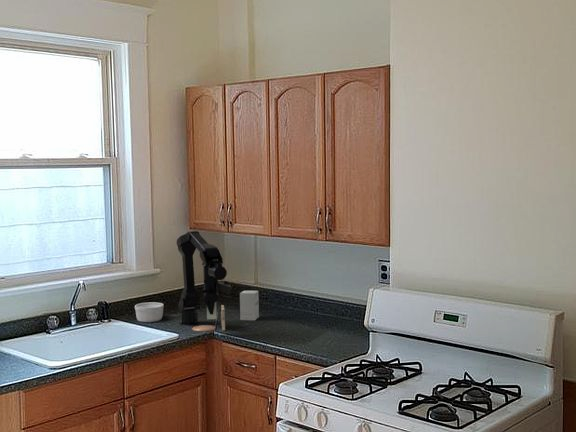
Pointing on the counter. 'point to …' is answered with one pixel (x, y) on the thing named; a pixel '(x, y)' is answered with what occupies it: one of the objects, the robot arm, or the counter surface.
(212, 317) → the sage block
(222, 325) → the divider board
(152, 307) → the ramekin
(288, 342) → the counter surface
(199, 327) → the disc
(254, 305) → the supplement box
